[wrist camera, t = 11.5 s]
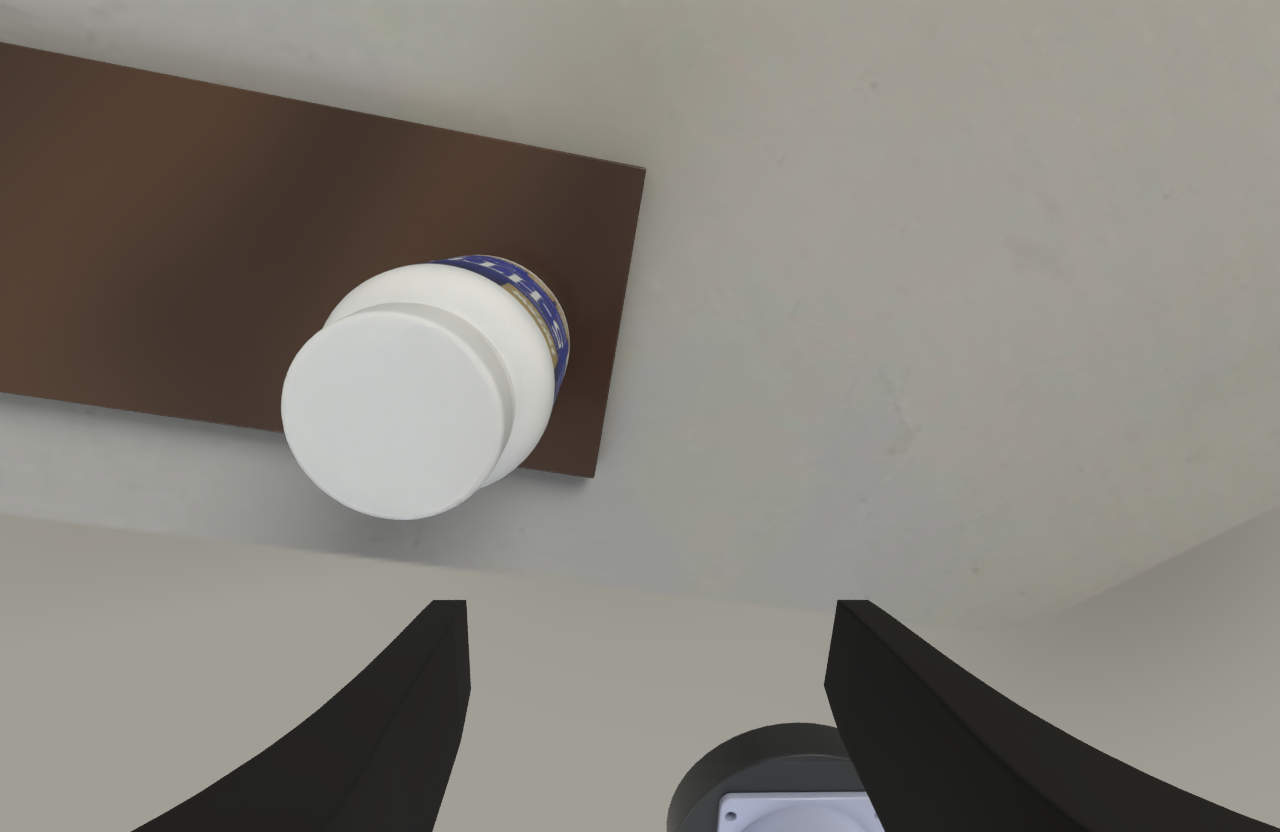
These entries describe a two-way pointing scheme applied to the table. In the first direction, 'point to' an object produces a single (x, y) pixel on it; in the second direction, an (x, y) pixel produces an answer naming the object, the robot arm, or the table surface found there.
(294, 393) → the pill bottle
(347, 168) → the corner board
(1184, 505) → the table surface
